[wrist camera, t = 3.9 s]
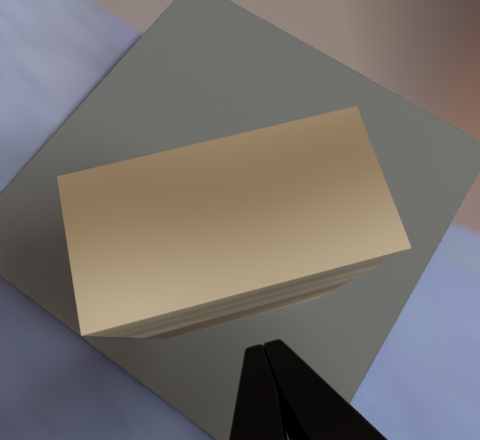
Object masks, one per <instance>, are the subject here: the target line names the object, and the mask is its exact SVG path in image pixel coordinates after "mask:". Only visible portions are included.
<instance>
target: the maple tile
mask: <svg viewBox="0 0 480 440" xmlns="http://www.w3.org/2000/svg"><path fill="white" fill-rule="evenodd" d="M57 181H58V187H59V194H60V201H61V207H62V214H63V220H64V227H65V233H66V240H67V247H68V253H69V260H70V266H71V273H72V279H73V286H74V293H75V299H76V306H77V312H78V319H79V325H80V332H81V336H102V337H128V338H154V339H169V338H172V337H176V336H180V335H183V334H187V333H191V332H195V331H198V330H202V329H206V328H209V327H213V326H217V325H220V324H224V323H228V322H232V321H235V320H239V319H243V318H246V317H250V316H254V315H257V314H261V313H265V312H269V311H272V310H276V309H280V308H283V307H287V306H291V305H294V304H298V303H302V302H306V301H309V300H313V299H317V298H319V297H321V296H323V295H325V294H327V293H329V292H331V291H332V290H334V289H336V288H338V287H340V286H342V285H344V284H345V283H347V282H349V281H351V280H353V279H355V278H357V277H359V276H360V275H362V274H364V273H366V272H368V271H370V270H372V269H373V268H375V267H377V266H379V265H381V264H383V263H385V262H386V261H388V260H390V259H392V258H394V257H396V256H398V255H399V254H401V253H403V252H405V251H407V250H409V249H411V245H410V243H409V240H408V237H407V235H406V232H405V230H404V227H403V224H402V222H401V219H400V217H399V214H398V211H397V209H396V206H395V204H394V201H393V199H392V196H391V193H390V191H389V188H388V186H387V183H386V180H385V178H384V175H383V173H382V170H381V167H380V165H379V162H378V160H377V157H376V154H375V152H374V149H373V147H372V144H371V141H370V139H369V136H368V134H367V131H366V129H365V126H364V123H363V121H362V118H361V116H360V113H359V110H358V108H357V106H355V107H351V108H347V109H342V110H338V111H334V112H329V113H325V114H321V115H317V116H312V117H308V118H304V119H300V120H295V121H291V122H287V123H283V124H278V125H274V126H270V127H266V128H261V129H257V130H253V131H249V132H244V133H240V134H236V135H232V136H227V137H223V138H219V139H214V140H210V141H206V142H202V143H197V144H193V145H189V146H185V147H180V148H176V149H172V150H168V151H163V152H159V153H155V154H151V155H146V156H142V157H138V158H134V159H129V160H125V161H121V162H117V163H112V164H108V165H104V166H99V167H95V168H91V169H87V170H82V171H78V172H74V173H70V174H65V175H61V176H57Z"/></svg>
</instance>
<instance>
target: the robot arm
mask: <svg viewBox="0 0 480 440" xmlns="http://www.w3.org/2000/svg"><path fill="white" fill-rule="evenodd" d="M287 436H288V437H287ZM288 439H289V440H387V439H386V438H385V437H384V436H383V435H382V434H381V433H380V432H379V431H378V430H377V429H376V428H375V427H374V426H373V425H371V424H370V423H369V422H368V421H367V420H366V419H365V418H364V417H363V416H362V415H361V414H360V413H359V412H358V411H357V410H356V409H354V408H353V407H352V406H351V405H350V404H349V403H348V402H347V401H346V400H345V399H344V398H343V397H342V396H341V395H340V394H339V393H338V392H336V391H335V390H334V389H333V388H332V387H331V386H330V385H329V384H328V383H327V382H326V381H325V380H324V379H323V378H322V377H321V376H320V375H318V374H317V373H316V372H315V371H314V370H313V369H312V368H311V367H310V366H309V365H308V364H307V363H306V362H305V361H304V360H303V359H302V358H300V357H299V356H298V355H297V354H296V353H295V352H294V351H293V350H292V349H291V348H290V347H289V346H288V345H287V344H286V343H285V342H284V341H282V340H281V339H275V340H272V341H268V342H265V343H264V345H262V344H257V345H254V346H250V347H247V348H246V349H245V352H244V357H243V363H242V369H241V374H240V380H239V386H238V391H237V397H236V403H235V408H234V414H233V420H232V425H231V431H230V437H229V440H288Z"/></svg>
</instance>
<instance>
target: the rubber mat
mask: <svg viewBox="0 0 480 440" xmlns="http://www.w3.org/2000/svg"><path fill="white" fill-rule="evenodd" d="M355 106H357V108H358V110H359V113H360V116H361V118H362V121H363V123H364V126H365V129H366V131H367V134H368V136H369V139H370V141H371V144H372V147H373V149H374V152H375V154H376V157H377V160H378V162H379V165H380V167H381V170H382V173H383V175H384V178H385V180H386V183H387V186H388V188H389V191H390V193H391V196H392V199H393V201H394V204H395V206H396V209H397V211H398V214H399V217H400V219H401V222H402V224H403V227H404V230H405V232H406V235H407V237H408V240H409V243H410V245H411V249H409V250H407V251H405V252H403V253H401V254H399V255H398V256H396V257H394V258H392V259H390V260H388V261H386V262H385V263H383V264H381V265H379V266H377V267H375V268H373V269H372V270H370V271H368V272H366V273H364V274H362V275H360V276H359V277H357V278H355V279H353V280H351V281H349V282H347V283H345V284H344V285H342V286H340V287H338V288H336V289H334V290H332V291H331V292H329V293H327V294H325V295H323V296H321V297H319V298H317V299H313V300H309V301H306V302H302V303H298V304H294V305H291V306H287V307H283V308H280V309H276V310H272V311H269V312H265V313H261V314H257V315H254V316H250V317H246V318H243V319H239V320H235V321H232V322H228V323H224V324H220V325H217V326H213V327H209V328H206V329H202V330H198V331H195V332H191V333H187V334H183V335H180V336H176V337H172V338H169V339H154V338H128V337H102V336H81V332H80V325H79V319H78V312H77V306H76V299H75V293H74V286H73V279H72V273H71V266H70V260H69V253H68V247H67V240H66V233H65V227H64V220H63V214H62V207H61V201H60V194H59V187H58V181H57V176H61V175H65V174H70V173H74V172H78V171H82V170H87V169H91V168H95V167H99V166H104V165H108V164H112V163H117V162H121V161H125V160H129V159H134V158H138V157H142V156H146V155H151V154H155V153H159V152H163V151H168V150H172V149H176V148H180V147H185V146H189V145H193V144H197V143H202V142H206V141H210V140H214V139H219V138H223V137H227V136H232V135H236V134H240V133H244V132H249V131H253V130H257V129H261V128H266V127H270V126H274V125H278V124H283V123H287V122H291V121H295V120H300V119H304V118H308V117H312V116H317V115H321V114H325V113H329V112H334V111H338V110H342V109H347V108H351V107H355ZM479 171H480V141H479V140H478V139H476V138H474V137H472V136H471V135H468V134H467V133H465V132H463V131H461V130H460V129H458V128H456V127H455V126H453V125H451V124H449V123H447V122H446V121H444V120H442V119H440V118H438V117H437V116H435V115H433V114H431V113H429V112H428V111H426V110H424V109H422V108H421V107H419V106H417V105H415V104H413V103H412V102H410V101H408V100H406V99H405V98H403V97H401V96H399V95H397V94H396V93H394V92H392V91H390V90H389V89H387V88H385V87H383V86H381V85H379V84H378V83H376V82H374V81H372V80H371V79H369V78H367V77H365V76H364V75H362V74H360V73H358V72H356V71H354V70H353V69H351V68H349V67H347V66H346V65H344V64H342V63H340V62H339V61H337V60H335V59H333V58H331V57H330V56H328V55H326V54H324V53H323V52H321V51H319V50H317V49H315V48H313V47H312V46H310V45H308V44H307V43H305V42H303V41H301V40H299V39H298V38H296V37H294V36H292V35H290V34H289V33H287V32H285V31H283V30H282V29H280V28H278V27H276V26H274V25H273V24H271V23H269V22H267V21H266V20H264V19H262V18H260V17H258V16H257V15H255V14H253V13H251V12H249V11H247V10H246V9H244V8H242V7H241V6H239V5H237V4H235V3H233V2H232V1H230V0H174V1H173V2H172V3H171V5H170V6H169V7H168V8H167V9H166V10H165V11H164V12H163V13H162V15H161V16H160V17H159V18H158V19H157V20H156V21H155V22H154V23H153V25H152V26H151V27H150V28H149V29H148V30H147V31H146V32H145V33H144V35H143V36H142V37H141V38H140V39H139V40H138V41H137V42H136V43H135V45H134V46H133V47H132V48H131V49H130V50H129V51H128V52H127V54H126V55H125V56H124V57H123V58H122V59H121V60H120V61H119V62H118V64H117V65H116V66H115V67H114V68H113V69H112V70H111V71H110V73H109V74H108V75H107V76H106V77H105V78H104V79H103V80H102V81H101V83H100V84H99V85H98V86H97V87H96V88H95V89H94V90H93V91H92V93H91V94H90V95H89V96H88V97H87V98H86V99H85V100H84V102H83V103H82V104H81V105H80V106H79V107H78V108H77V109H76V110H75V112H74V113H73V114H72V115H71V116H70V117H69V118H68V119H67V121H66V122H65V123H64V124H63V125H62V126H61V127H60V128H59V129H58V131H57V132H56V133H55V134H54V135H53V136H52V137H51V138H50V140H49V141H48V142H47V143H46V144H45V145H44V146H43V147H42V148H41V150H40V151H39V152H38V153H37V154H36V155H35V156H34V157H33V158H32V160H31V161H30V162H29V163H28V164H27V165H26V166H25V167H24V169H23V170H22V171H21V172H20V173H19V174H18V175H17V176H16V177H15V179H14V180H13V181H12V182H11V183H10V184H9V185H8V186H7V188H6V189H5V190H4V191H3V192H2V193H1V194H0V276H2V277H3V278H4V279H6V280H7V281H8V282H10V283H11V284H12V285H13V286H15V287H16V288H17V289H19V290H20V291H21V292H23V293H24V294H25V295H27V296H28V297H29V298H31V299H32V300H33V301H35V302H36V303H37V304H38V305H40V306H41V307H42V308H44V309H45V310H46V311H48V312H49V313H50V314H52V315H53V316H54V317H56V318H57V319H58V320H60V321H61V322H62V323H63V324H65V325H66V326H67V327H69V328H70V329H71V330H73V331H74V332H75V333H77V334H78V335H79V336H81V337H82V338H83V339H85V340H86V341H87V342H89V343H90V344H91V345H92V346H94V347H95V348H96V349H98V350H99V351H100V352H102V353H103V354H104V355H106V356H107V357H108V358H110V359H111V360H112V361H114V362H115V363H116V364H117V365H119V366H120V367H121V368H123V369H124V370H125V371H127V372H128V373H129V374H131V375H132V376H133V377H135V378H136V379H137V380H139V381H140V382H141V383H142V384H144V385H145V386H146V387H148V388H149V389H150V390H152V391H153V392H154V393H156V394H157V395H158V396H160V397H161V398H162V399H164V400H165V401H166V402H167V403H169V404H170V405H171V406H173V407H174V408H175V409H177V410H178V411H179V412H181V413H182V414H183V415H185V416H186V417H187V418H189V419H190V420H191V421H192V422H194V423H195V424H196V425H198V426H199V427H200V428H202V429H203V430H204V431H206V432H207V433H208V434H210V435H211V436H212V437H214V438H215V439H216V440H229V437H230V431H231V425H232V420H233V414H234V408H235V403H236V397H237V391H238V386H239V380H240V374H241V369H242V363H243V357H244V352H245V349H246V348H247V347H250V346H254V345H257V344H262V345H264V343H265V342H268V341H272V340H275V339H281V340H282V341H284V342H285V343H286V344H287V345H288V346H289V347H290V348H291V349H292V350H293V351H294V352H295V353H296V354H297V355H298V356H299V357H300V358H302V359H303V360H304V361H305V362H306V363H307V364H308V365H309V366H310V367H311V368H312V369H313V370H314V371H315V372H316V373H317V374H318V375H320V376H321V377H322V378H323V379H324V380H325V381H326V382H327V383H328V384H329V385H330V386H331V387H332V388H333V389H334V390H335V391H336V392H338V393H339V394H340V395H341V396H342V397H343V398H344V399H345V400H346V401H347V402H348V403H349V404H350V402H351V401H352V399H353V397H354V395H355V393H356V392H357V390H358V388H359V386H360V384H361V383H362V381H363V379H364V377H365V375H366V374H367V372H368V370H369V368H370V367H371V365H372V363H373V361H374V359H375V358H376V356H377V354H378V352H379V350H380V349H381V347H382V345H383V343H384V341H385V340H386V338H387V336H388V334H389V333H390V331H391V329H392V327H393V325H394V324H395V322H396V320H397V318H398V316H399V315H400V313H401V311H402V309H403V307H404V306H405V304H406V302H407V300H408V299H409V297H410V295H411V293H412V291H413V290H414V288H415V286H416V284H417V282H418V281H419V279H420V277H421V275H422V273H423V272H424V270H425V268H426V266H427V265H428V263H429V261H430V259H431V257H432V256H433V254H434V252H435V250H436V248H437V247H438V245H439V243H440V241H441V239H442V238H443V236H444V234H445V232H446V231H447V229H448V227H449V225H450V223H451V222H452V220H453V218H454V216H455V214H456V213H457V211H458V209H459V207H460V205H461V204H462V202H463V200H464V198H465V197H466V195H467V193H468V191H469V189H470V188H471V186H472V184H473V182H474V180H475V179H476V177H477V175H478V173H479ZM287 437H288V436H287ZM288 440H289V439H288Z"/></svg>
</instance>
